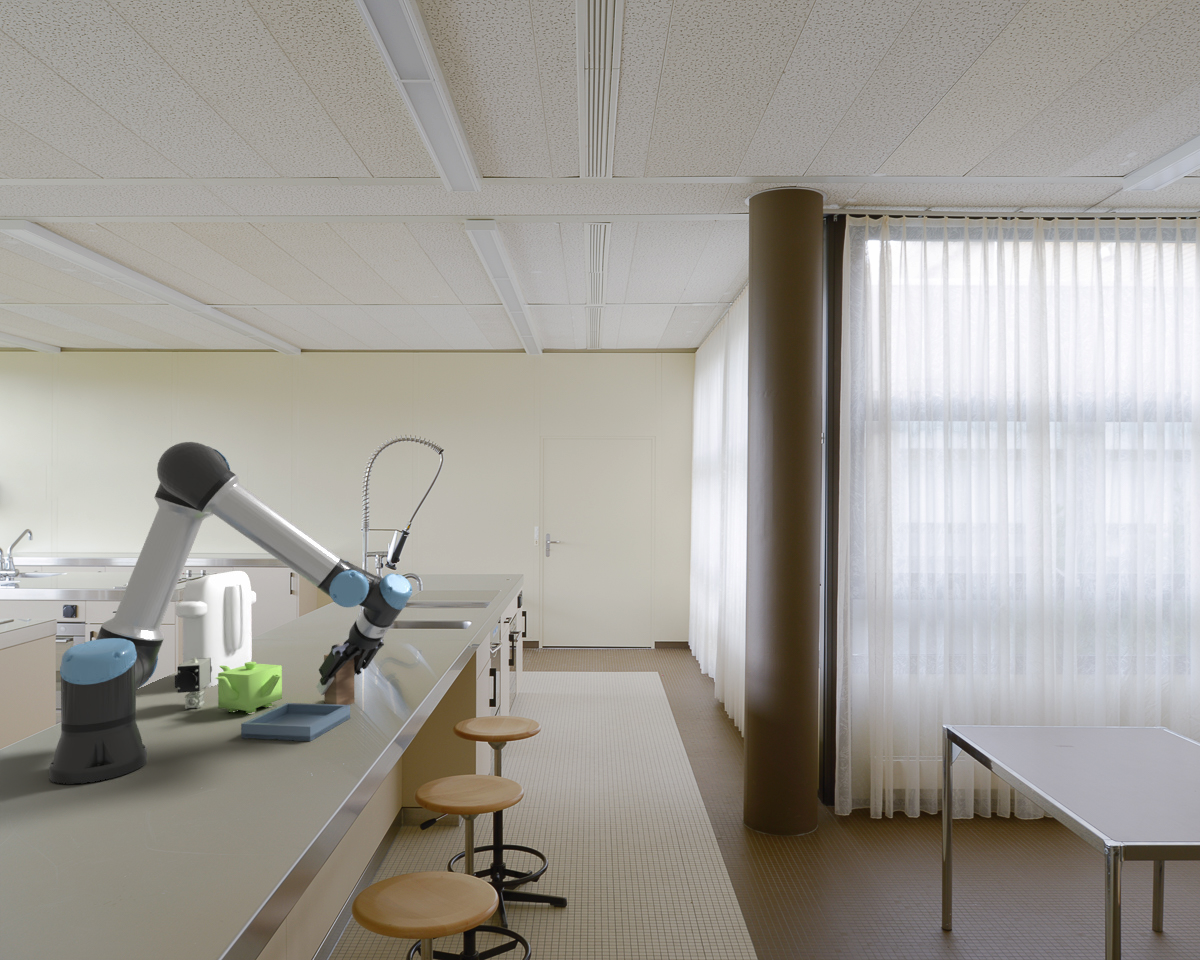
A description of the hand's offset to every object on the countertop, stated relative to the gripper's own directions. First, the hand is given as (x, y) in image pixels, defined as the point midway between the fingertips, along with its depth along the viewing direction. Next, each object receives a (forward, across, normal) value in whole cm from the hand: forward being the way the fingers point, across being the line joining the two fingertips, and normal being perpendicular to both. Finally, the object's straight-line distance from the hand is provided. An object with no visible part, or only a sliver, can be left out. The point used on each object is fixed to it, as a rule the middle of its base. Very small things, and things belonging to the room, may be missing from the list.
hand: (330, 687), depth 183 cm
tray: (-7, -17, -12) cm, 21 cm away
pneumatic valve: (+20, -22, +15) cm, 33 cm away
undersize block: (0, 0, -5) cm, 5 cm away
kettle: (+10, -15, +5) cm, 19 cm away
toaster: (+35, -3, +30) cm, 47 cm away
